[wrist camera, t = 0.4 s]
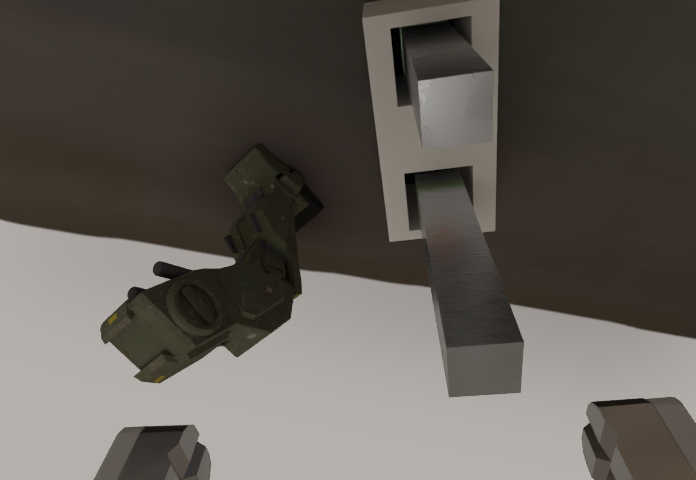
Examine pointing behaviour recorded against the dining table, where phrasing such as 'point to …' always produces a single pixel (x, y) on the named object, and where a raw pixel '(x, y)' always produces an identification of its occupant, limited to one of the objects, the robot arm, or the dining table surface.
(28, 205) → the dining table surface
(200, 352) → the mechanical leg
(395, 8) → the frame
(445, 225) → the column
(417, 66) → the column
